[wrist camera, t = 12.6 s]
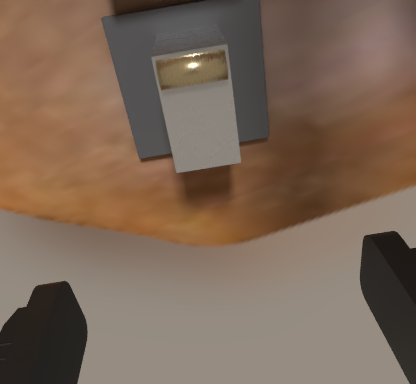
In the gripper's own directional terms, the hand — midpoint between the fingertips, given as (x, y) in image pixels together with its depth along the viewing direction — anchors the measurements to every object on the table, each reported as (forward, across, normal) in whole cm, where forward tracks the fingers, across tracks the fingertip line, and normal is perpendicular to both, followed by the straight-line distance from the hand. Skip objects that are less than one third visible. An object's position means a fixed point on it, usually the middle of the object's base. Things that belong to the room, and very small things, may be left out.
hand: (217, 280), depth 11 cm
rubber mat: (+20, 0, 0) cm, 20 cm away
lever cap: (+19, 0, 0) cm, 19 cm away
